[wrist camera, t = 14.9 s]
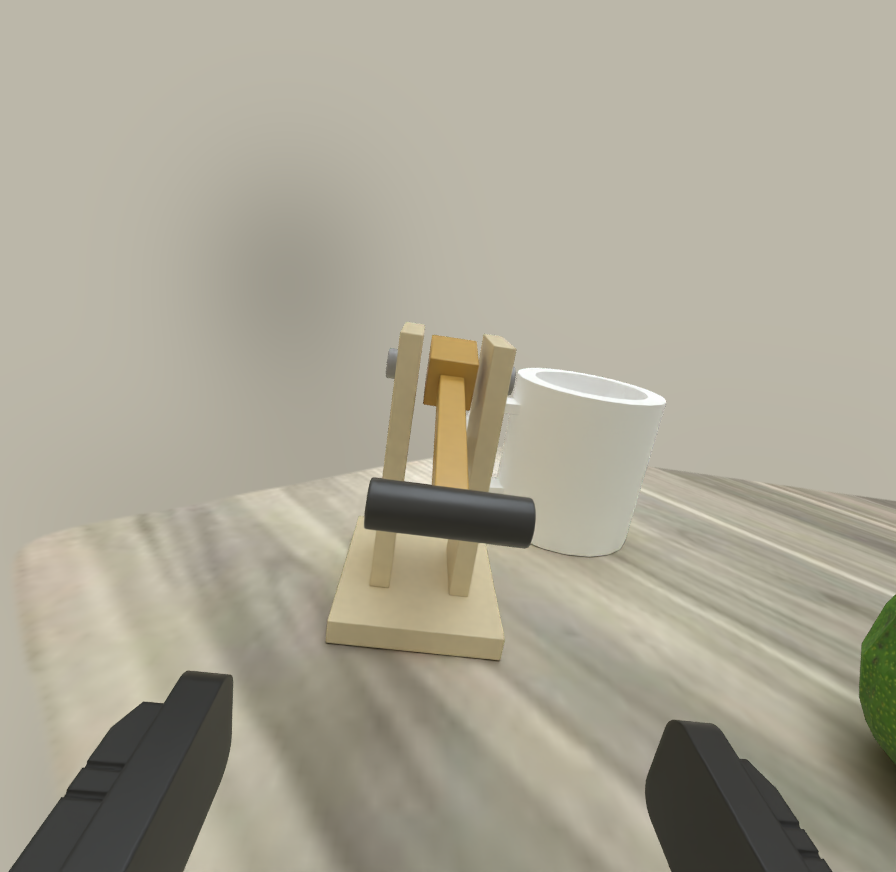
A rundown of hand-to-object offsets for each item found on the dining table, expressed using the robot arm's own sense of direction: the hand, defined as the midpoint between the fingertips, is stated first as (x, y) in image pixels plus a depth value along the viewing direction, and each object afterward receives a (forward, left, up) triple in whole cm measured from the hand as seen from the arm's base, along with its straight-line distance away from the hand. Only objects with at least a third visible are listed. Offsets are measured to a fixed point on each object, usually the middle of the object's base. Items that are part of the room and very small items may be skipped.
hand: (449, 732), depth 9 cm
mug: (-24, -14, -9) cm, 30 cm away
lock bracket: (-11, -13, -8) cm, 18 cm away
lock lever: (-8, -9, +1) cm, 12 cm away
